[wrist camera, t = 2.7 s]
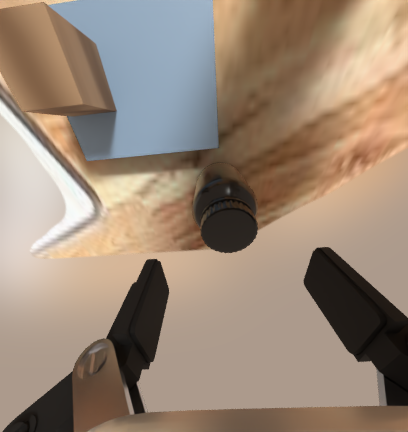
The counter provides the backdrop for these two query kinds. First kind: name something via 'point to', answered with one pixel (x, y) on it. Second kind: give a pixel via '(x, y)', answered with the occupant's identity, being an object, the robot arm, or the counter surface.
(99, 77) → the block
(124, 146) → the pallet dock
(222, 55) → the counter surface
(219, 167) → the supplement bottle
